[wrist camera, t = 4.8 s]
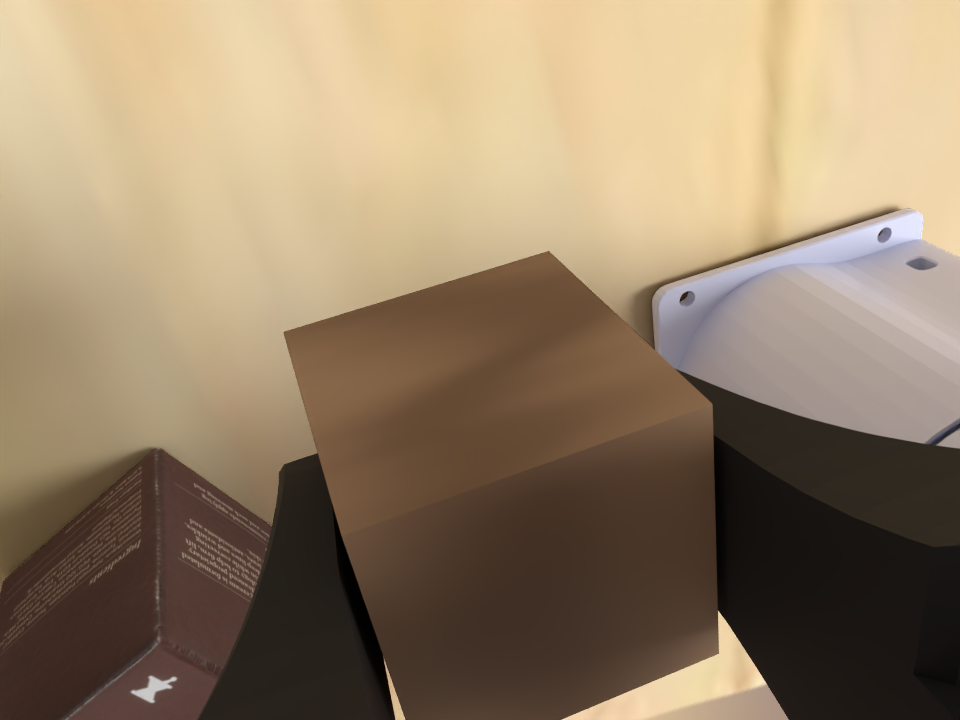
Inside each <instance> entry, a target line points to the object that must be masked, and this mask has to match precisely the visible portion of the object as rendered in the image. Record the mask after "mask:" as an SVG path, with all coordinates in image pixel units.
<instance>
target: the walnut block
mask: <svg viewBox="0 0 960 720" xmlns="http://www.w3.org/2000/svg"><path fill="white" fill-rule="evenodd" d="M284 336H285V339H286V343H287V347H288V350H289V354H290V357H291V361H292V364H293V368H294V371H295V375H296V378H297V382H298V385H299V389H300V392H301V396H302V399H303V403H304V406H305V410H306V413H307V417H308V420H309V424H310V427H311V431H312V434H313V438H314V441H315V445H316V448H317V452H318V455H319V459H320V462H321V466H322V469H323V473H324V476H325V480H326V483H327V487H328V490H329V494H330V497H331V501H332V504H333V508H334V511H335V515H336V518H337V522H338V525H339V529H340V532H341V536H342V539H343V541H344V544H345V547H346V550H347V553H348V556H349V559H350V562H351V564H352V567H353V570H354V573H355V576H356V579H357V582H358V585H359V587H360V590H361V593H362V596H363V599H364V602H365V605H366V607H367V610H368V613H369V616H370V619H371V622H372V625H373V628H374V630H375V633H376V636H377V639H378V642H379V645H380V648H381V651H382V653H383V656H384V659H385V662H386V665H387V668H388V671H389V674H390V676H391V679H392V682H393V685H394V688H395V691H396V694H397V696H398V699H399V702H400V705H401V708H402V711H403V714H404V717H405V719H406V720H561V719H564V718H566V717H568V716H571V715H573V714H576V713H578V712H580V711H583V710H585V709H588V708H590V707H592V706H595V705H597V704H600V703H602V702H604V701H607V700H609V699H612V698H614V697H616V696H619V695H621V694H623V693H626V692H628V691H631V690H633V689H635V688H638V687H640V686H643V685H645V684H647V683H650V682H652V681H655V680H657V679H659V678H662V677H664V676H666V675H669V674H671V673H674V672H676V671H678V670H681V669H683V668H686V667H688V666H690V665H693V664H695V663H698V662H700V661H702V660H705V659H707V658H710V657H712V656H714V655H717V654H719V641H718V601H717V561H716V521H715V481H714V441H713V404H712V403H711V402H710V401H709V400H708V399H707V398H706V397H705V396H703V395H702V394H701V393H700V392H699V391H698V390H697V389H696V388H695V387H694V386H693V385H692V384H691V383H690V382H688V381H687V380H686V379H685V378H684V377H683V376H682V375H681V374H680V373H679V372H678V371H677V370H676V369H674V368H673V367H672V366H671V365H670V364H669V363H668V362H667V361H666V360H665V359H664V358H663V357H662V356H661V355H659V354H658V353H657V352H656V351H655V350H654V349H653V348H652V347H651V346H650V345H649V344H648V343H647V342H646V341H644V340H643V339H642V338H641V337H640V336H639V335H638V334H637V333H636V332H635V331H634V330H633V329H632V328H631V327H629V326H628V325H627V324H626V323H625V322H624V321H623V320H622V319H621V318H620V317H619V316H618V315H617V314H616V313H614V312H613V311H612V310H611V309H610V308H609V307H608V306H607V305H606V304H605V303H604V302H603V301H602V300H601V299H599V298H598V297H597V296H596V295H595V294H594V293H593V292H592V291H591V290H590V289H589V288H588V287H587V286H586V285H584V284H583V283H582V282H581V281H580V280H579V279H578V278H577V277H576V276H575V275H574V274H573V273H572V272H571V271H569V270H568V269H567V268H566V267H565V266H564V265H563V264H562V263H561V262H560V261H559V260H558V259H557V258H556V257H554V256H553V255H552V254H551V253H550V252H549V251H548V252H544V253H541V254H538V255H535V256H531V257H528V258H525V259H521V260H518V261H515V262H512V263H508V264H505V265H502V266H498V267H495V268H492V269H489V270H485V271H482V272H479V273H476V274H472V275H469V276H466V277H462V278H459V279H456V280H453V281H449V282H446V283H443V284H439V285H436V286H433V287H430V288H426V289H423V290H420V291H416V292H413V293H410V294H407V295H403V296H400V297H397V298H394V299H390V300H387V301H384V302H380V303H377V304H374V305H371V306H367V307H364V308H361V309H357V310H354V311H351V312H348V313H344V314H341V315H338V316H335V317H331V318H328V319H325V320H321V321H318V322H315V323H312V324H308V325H305V326H302V327H298V328H295V329H292V330H289V331H285V332H284Z"/></svg>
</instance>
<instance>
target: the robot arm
mask: <svg viewBox="0 0 960 720" xmlns="http://www.w3.org/2000/svg"><path fill="white" fill-rule="evenodd" d="M882 229H883V230H882ZM922 229H923V216H922V214H921V213H920V212H918V211H915V210H913V209H911V208H906V209H902V210H899V211H896V212H893V213H890V214H886V215H883V216H880V217H877V218H874V219H871V220H868V221H864V222H861V223H858V224H855V225H852V226H849V227H846V228H842V229H839V230H836V231H833V232H830V233H827V234H824V235H820V236H817V237H814V238H811V239H808V240H805V241H802V242H798V243H795V244H792V245H789V246H786V247H783V248H780V249H776V250H773V251H770V252H767V253H764V254H761V255H758V256H754V257H751V258H748V259H745V260H742V261H739V262H736V263H732V264H729V265H726V266H723V267H720V268H717V269H714V270H710V271H707V272H704V273H701V274H698V275H695V276H692V277H688V278H685V279H682V280H679V281H676V282H673V283H670V284H666V285H664V286H662V287H660V288H659V289H658V290H657V291H656V293H655V295H654V297H653V300H652V312H653V327H654V341H655V351H656V352H657V353H658V354H659V355H661V356H662V357H663V358H664V359H665V360H666V361H667V362H668V363H669V364H670V365H671V366H672V367H673V368H674V369H676V370H677V371H678V372H679V373H680V374H681V375H682V376H683V377H684V378H685V379H686V380H687V381H688V382H690V383H691V384H692V385H693V386H694V387H695V388H696V389H697V390H698V391H699V392H700V393H701V394H702V395H703V396H705V397H706V398H707V399H708V400H709V401H710V402H711V403H712V404H713V441H714V481H715V521H716V561H717V601H718V611H719V612H720V613H721V615H722V616H723V617H724V619H725V620H726V621H727V623H728V624H729V626H730V627H731V629H732V630H733V632H734V633H735V635H736V637H737V638H738V640H739V641H740V643H741V644H742V646H743V647H744V649H745V650H746V652H747V653H748V655H749V657H750V658H751V660H752V661H753V663H754V664H755V666H756V667H757V669H758V670H759V672H760V674H761V675H762V677H763V678H764V680H765V682H766V683H767V685H768V687H769V688H770V690H771V691H772V693H773V694H774V696H775V698H776V699H777V701H778V703H779V704H780V706H781V708H782V709H783V711H784V712H785V714H786V716H787V717H788V719H789V720H960V257H958V256H956V255H954V254H952V253H950V252H947V251H945V250H943V249H941V248H939V247H937V246H935V245H932V244H930V243H928V242H926V241H924V240H922V239H921V237H922ZM881 230H882V233H881V234H880V236H879V237H878V234H879V232H880V231H881ZM687 291H688V296H687V297H686V298H685V299H684V300H683V301H680V297H681V296H682V294H683V293H685V292H687ZM679 301H680V302H679ZM197 720H395V716H394V710H393V705H392V700H391V695H390V690H389V684H388V679H387V674H386V669H385V664H384V658H383V653H382V651H381V648H380V645H379V642H378V639H377V636H376V633H375V630H374V628H373V625H372V622H371V619H370V616H369V613H368V610H367V607H366V605H365V602H364V599H363V596H362V593H361V590H360V587H359V585H358V582H357V579H356V576H355V573H354V570H353V567H352V564H351V562H350V559H349V556H348V553H347V550H346V547H345V544H344V541H343V539H342V536H341V532H340V529H339V525H338V522H337V518H336V515H335V511H334V508H333V504H332V501H331V497H330V494H329V490H328V487H327V483H326V480H325V476H324V473H323V469H322V466H321V462H320V459H319V455H318V453H317V454H314V455H311V456H308V457H305V458H302V459H299V460H296V461H293V462H290V463H287V464H284V466H283V467H282V469H281V471H280V472H279V487H278V496H277V503H276V509H275V514H274V519H273V525H272V529H271V533H270V537H269V541H268V545H267V549H266V554H265V558H264V561H263V565H262V568H261V572H260V575H259V578H258V581H257V584H256V587H255V590H254V593H253V596H252V599H251V602H250V605H249V608H248V611H247V614H246V616H245V619H244V622H243V624H242V627H241V629H240V632H239V634H238V637H237V639H236V641H235V644H234V646H233V648H232V651H231V653H230V655H229V657H228V660H227V662H226V664H225V666H224V668H223V670H222V672H221V674H220V676H219V678H218V680H217V682H216V684H215V686H214V688H213V690H212V692H211V694H210V696H209V698H208V700H207V702H206V704H205V706H204V708H203V709H202V711H201V713H200V715H199V717H198V718H197Z"/></svg>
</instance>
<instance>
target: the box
mask: <svg viewBox="0 0 960 720" xmlns="http://www.w3.org/2000/svg"><path fill="white" fill-rule="evenodd" d="M271 529H272V527H271V526H270V525H268V524H267V523H266V522H264V521H263V520H262V519H260V518H259V517H257V516H256V515H254V514H253V513H252V512H250V511H249V510H247V509H246V508H244V507H243V506H242V505H240V504H239V503H238V502H236V501H235V500H233V499H232V498H230V497H229V496H227V495H226V494H225V493H223V492H222V491H221V490H219V489H218V488H216V487H215V486H214V485H212V484H210V483H209V482H208V481H206V480H205V479H204V478H202V477H201V476H199V475H198V474H196V473H195V472H194V471H192V470H191V469H189V468H188V467H186V466H185V465H184V464H182V463H181V462H179V461H178V460H176V459H175V458H174V457H172V456H171V455H169V454H168V453H167V452H165V451H164V450H162V449H159V448H158V449H156V450H154V451H152V452H151V453H150V454H149V455H148V456H146V457H145V458H144V459H143V460H142V461H141V462H140V463H139V464H138V465H136V466H135V467H134V468H133V469H132V470H130V471H129V472H128V473H127V474H126V475H125V476H123V477H122V478H121V479H120V480H119V481H118V482H117V483H116V484H115V485H113V486H112V487H111V488H110V489H109V490H107V491H106V492H105V493H104V494H103V495H102V496H101V497H100V498H99V499H98V500H96V501H95V502H94V503H93V504H91V505H90V506H89V507H88V508H87V509H86V510H85V511H83V512H82V513H81V514H80V515H79V516H78V517H77V518H76V519H74V520H73V521H72V522H71V523H70V524H68V525H67V526H66V527H65V528H64V529H63V530H62V531H60V532H59V533H58V534H57V535H56V536H55V537H54V538H52V539H51V540H50V541H49V542H48V543H47V544H46V545H44V546H43V547H42V548H41V549H40V550H39V551H38V552H36V553H35V554H34V555H33V556H32V557H30V558H29V559H28V560H27V561H26V562H25V563H24V564H23V565H21V566H20V567H19V568H18V569H17V570H16V571H15V572H13V573H12V574H11V575H10V576H9V577H7V578H6V579H5V580H4V581H3V585H2V590H1V594H0V720H197V718H198V717H199V715H200V713H201V711H202V709H203V708H204V706H205V704H206V702H207V700H208V698H209V696H210V694H211V692H212V690H213V688H214V686H215V684H216V682H217V680H218V678H219V676H220V674H221V672H222V670H223V668H224V666H225V664H226V662H227V660H228V657H229V655H230V653H231V651H232V648H233V646H234V644H235V641H236V639H237V637H238V634H239V632H240V629H241V627H242V624H243V622H244V619H245V616H246V614H247V611H248V608H249V605H250V602H251V599H252V596H253V593H254V590H255V587H256V584H257V581H258V578H259V575H260V572H261V568H262V565H263V561H264V558H265V554H266V549H267V545H268V541H269V537H270V533H271Z"/></svg>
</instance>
